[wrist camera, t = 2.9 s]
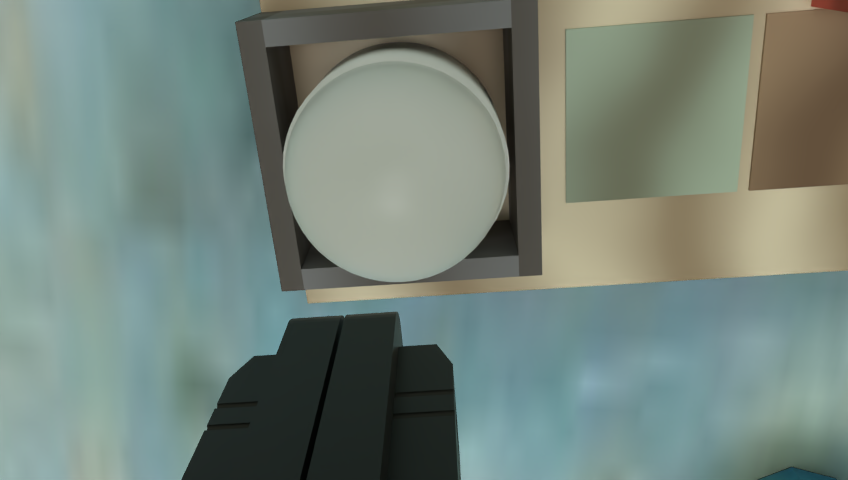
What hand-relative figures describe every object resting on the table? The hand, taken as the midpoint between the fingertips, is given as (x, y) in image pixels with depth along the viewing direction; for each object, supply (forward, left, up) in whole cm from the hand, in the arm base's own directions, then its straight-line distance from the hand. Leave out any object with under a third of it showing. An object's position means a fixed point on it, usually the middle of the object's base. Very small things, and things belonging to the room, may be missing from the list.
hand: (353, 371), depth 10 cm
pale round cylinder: (0, 0, -12) cm, 12 cm away
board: (-10, 0, -15) cm, 18 cm away
